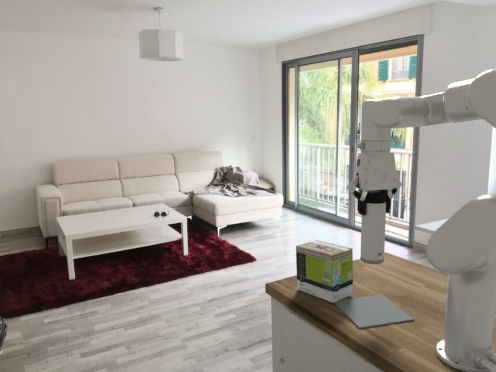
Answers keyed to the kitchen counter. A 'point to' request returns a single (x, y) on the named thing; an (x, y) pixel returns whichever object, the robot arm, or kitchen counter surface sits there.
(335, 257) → the tea box
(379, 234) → the travel mug
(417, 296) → the kitchen counter surface
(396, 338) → the kitchen counter surface
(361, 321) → the mat
